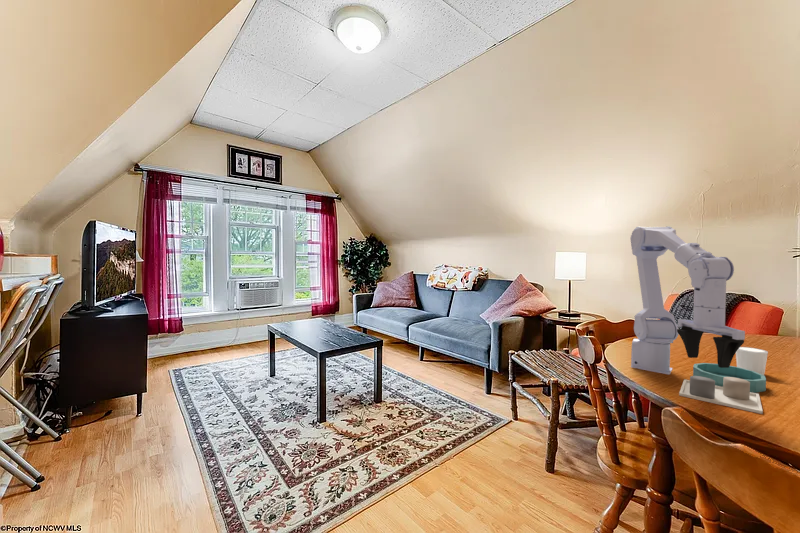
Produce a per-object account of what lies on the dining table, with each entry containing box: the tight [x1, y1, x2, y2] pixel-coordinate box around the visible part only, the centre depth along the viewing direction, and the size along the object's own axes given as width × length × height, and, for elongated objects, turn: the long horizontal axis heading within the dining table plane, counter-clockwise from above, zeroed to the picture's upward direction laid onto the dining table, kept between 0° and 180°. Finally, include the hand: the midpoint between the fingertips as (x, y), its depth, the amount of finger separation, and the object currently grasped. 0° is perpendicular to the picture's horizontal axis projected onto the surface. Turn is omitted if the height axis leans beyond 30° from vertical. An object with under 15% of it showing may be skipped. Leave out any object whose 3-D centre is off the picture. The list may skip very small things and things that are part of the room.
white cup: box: [735, 346, 769, 376], centre depth 101 cm, size 7×7×7 cm
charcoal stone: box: [689, 375, 715, 399], centre depth 83 cm, size 5×5×4 cm
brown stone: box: [723, 377, 750, 400], centre depth 82 cm, size 5×5×4 cm
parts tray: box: [678, 378, 764, 415], centre depth 83 cm, size 14×13×1 cm
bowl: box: [692, 362, 767, 394], centre depth 92 cm, size 14×14×4 cm
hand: (707, 362), depth 82 cm, fingers open, 7 cm apart
